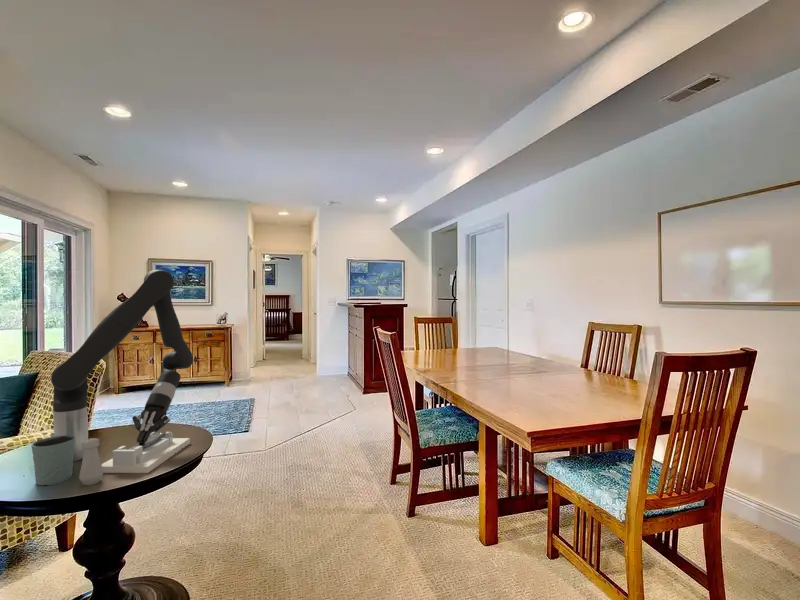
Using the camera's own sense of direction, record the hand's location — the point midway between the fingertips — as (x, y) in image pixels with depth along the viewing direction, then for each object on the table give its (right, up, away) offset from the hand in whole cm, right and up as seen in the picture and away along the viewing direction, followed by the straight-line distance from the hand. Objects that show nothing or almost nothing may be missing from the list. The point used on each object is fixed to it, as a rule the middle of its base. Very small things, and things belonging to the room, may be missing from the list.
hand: (140, 443), depth 140 cm
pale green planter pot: (-18, -7, -13) cm, 23 cm away
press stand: (0, -6, +4) cm, 7 cm away
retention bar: (0, -2, +3) cm, 3 cm away
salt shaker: (-5, -7, -15) cm, 17 cm away
